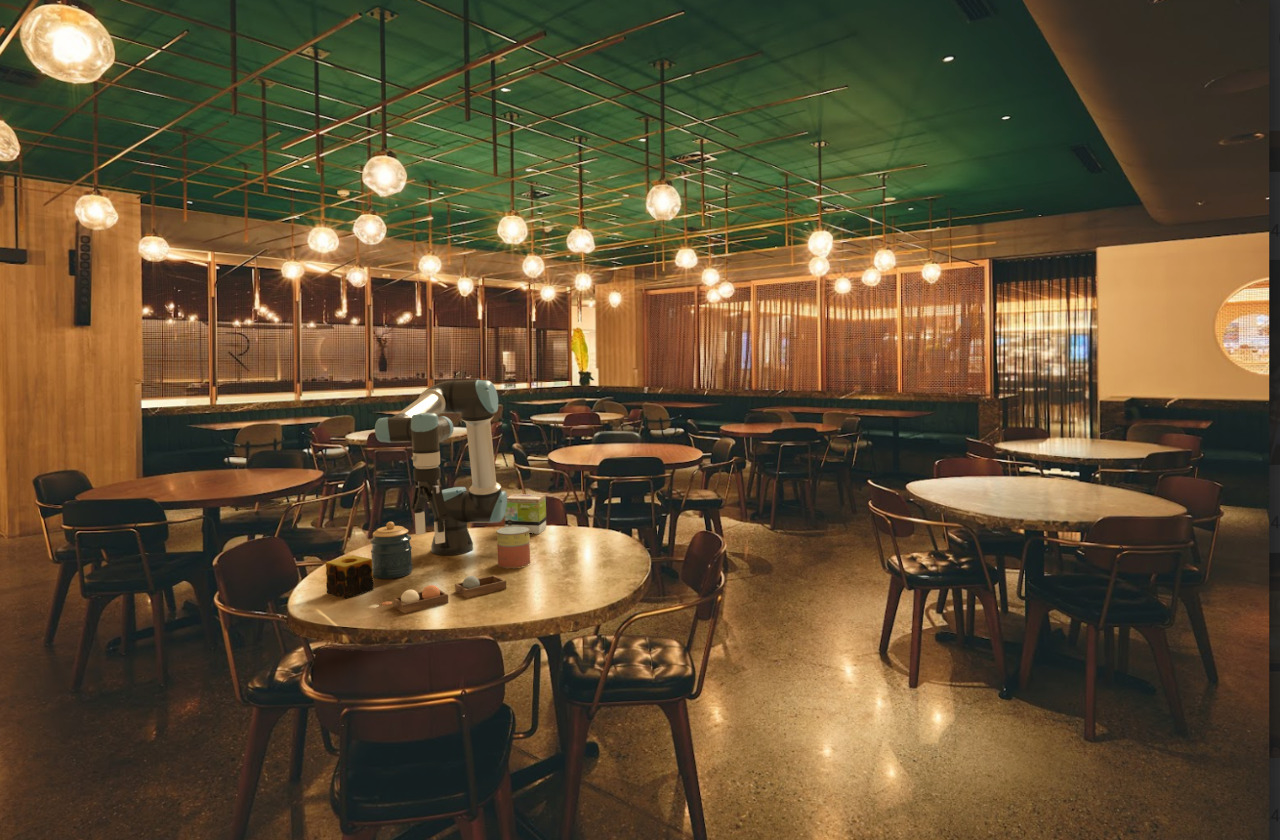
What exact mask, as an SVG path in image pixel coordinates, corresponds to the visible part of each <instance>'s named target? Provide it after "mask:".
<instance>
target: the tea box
mask: <svg viewBox="0 0 1280 840" xmlns="http://www.w3.org/2000/svg"><path fill="white" fill-rule="evenodd" d="M546 500H547V498H546V494H523V493H522V494H519V493H511V494H510V495H509V496H508V495H507V507H506V512H505V515H504V527H511V526H523V527H528V528H529V529H530V530H529V533H532V534H531V535H533V533H534V535H540V534H541V533H543V532H544V531H545V530H546V528H547V506H546V505H547V504H546V503H547V501H546ZM543 530H544V531H543ZM539 533H540V534H539Z"/></svg>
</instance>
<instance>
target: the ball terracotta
mask: <svg viewBox="0 0 1280 840" xmlns="http://www.w3.org/2000/svg"><path fill="white" fill-rule="evenodd" d="M439 590H440V589H439V588H438V587H437V586H436V585H434V584H430V585H427V586H426V587H424V588H423V590H422V591H421V592H422V597H423V599H428V598H433V597H437V596H440V591H439Z"/></svg>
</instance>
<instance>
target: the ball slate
mask: <svg viewBox="0 0 1280 840" xmlns="http://www.w3.org/2000/svg"><path fill="white" fill-rule="evenodd" d="M478 579H479V578H477V576H474V575H469V576H466V577H465V578H464V579H463V580H462V581H463V587H464V588H466V589H471V588H475V587H479V585H480V583H479V580H478Z"/></svg>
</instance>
